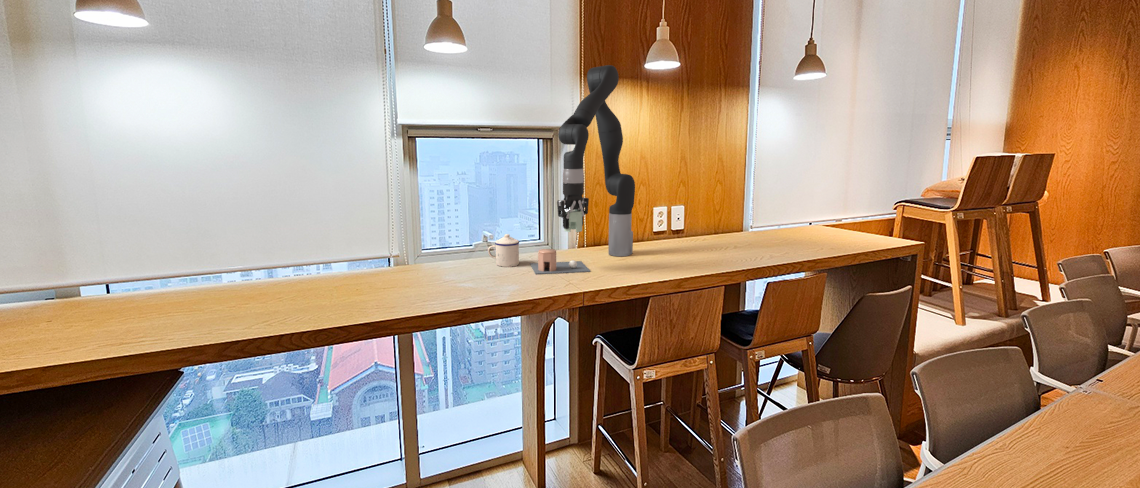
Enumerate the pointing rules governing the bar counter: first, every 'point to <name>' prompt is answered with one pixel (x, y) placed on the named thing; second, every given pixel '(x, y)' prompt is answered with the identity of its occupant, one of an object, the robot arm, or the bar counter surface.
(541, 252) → the terracotta cup
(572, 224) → the green piece
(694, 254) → the bar counter surface
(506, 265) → the teacup with lid
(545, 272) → the slate mat
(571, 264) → the ivory ball
